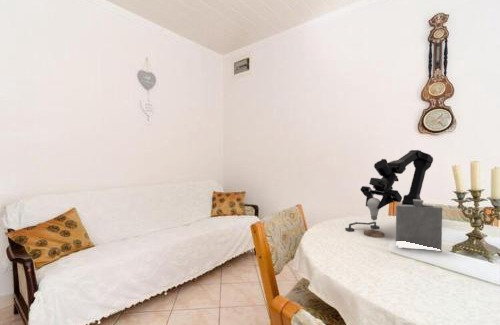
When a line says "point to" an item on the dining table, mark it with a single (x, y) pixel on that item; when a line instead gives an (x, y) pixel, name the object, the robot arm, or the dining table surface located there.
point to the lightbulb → (373, 207)
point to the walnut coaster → (374, 233)
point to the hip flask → (419, 224)
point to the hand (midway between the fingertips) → (372, 207)
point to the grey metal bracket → (362, 223)
